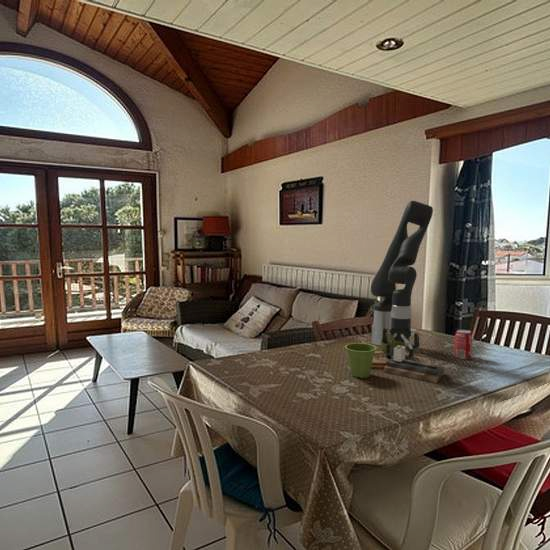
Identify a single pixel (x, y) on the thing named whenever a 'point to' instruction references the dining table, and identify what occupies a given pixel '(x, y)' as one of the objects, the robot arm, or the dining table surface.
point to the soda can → (463, 344)
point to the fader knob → (399, 353)
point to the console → (415, 370)
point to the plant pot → (360, 358)
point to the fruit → (394, 344)
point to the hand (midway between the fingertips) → (399, 355)
